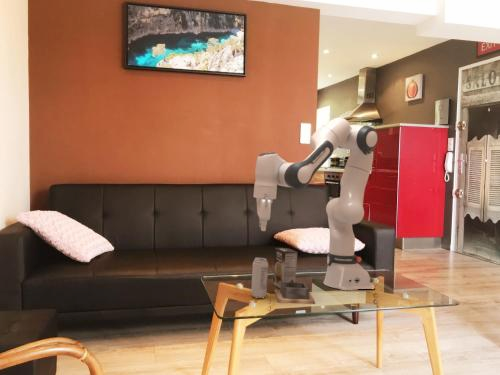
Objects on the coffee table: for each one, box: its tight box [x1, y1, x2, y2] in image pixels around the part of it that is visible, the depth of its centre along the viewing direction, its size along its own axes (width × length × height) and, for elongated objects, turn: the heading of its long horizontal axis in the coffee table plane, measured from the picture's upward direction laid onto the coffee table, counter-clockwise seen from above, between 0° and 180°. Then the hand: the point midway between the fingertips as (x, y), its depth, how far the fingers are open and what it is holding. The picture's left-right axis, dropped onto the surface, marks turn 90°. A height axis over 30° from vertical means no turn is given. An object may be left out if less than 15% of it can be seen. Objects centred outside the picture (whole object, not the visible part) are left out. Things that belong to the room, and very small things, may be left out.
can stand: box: [274, 281, 316, 305], centre depth 170 cm, size 14×14×5 cm
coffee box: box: [272, 247, 298, 289], centre depth 185 cm, size 9×6×16 cm
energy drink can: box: [250, 257, 269, 298], centre depth 168 cm, size 6×6×15 cm
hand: (262, 229), depth 168 cm, fingers open, 8 cm apart
